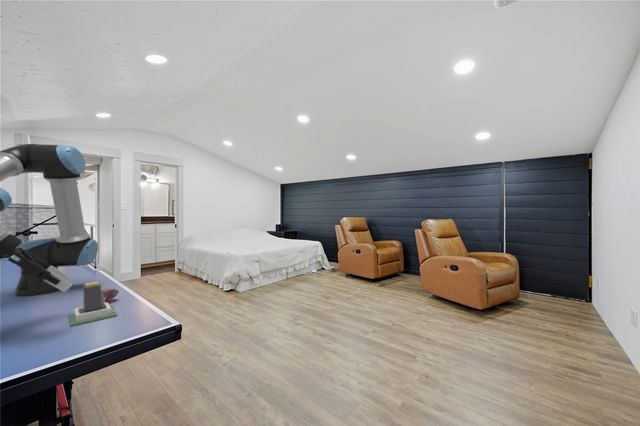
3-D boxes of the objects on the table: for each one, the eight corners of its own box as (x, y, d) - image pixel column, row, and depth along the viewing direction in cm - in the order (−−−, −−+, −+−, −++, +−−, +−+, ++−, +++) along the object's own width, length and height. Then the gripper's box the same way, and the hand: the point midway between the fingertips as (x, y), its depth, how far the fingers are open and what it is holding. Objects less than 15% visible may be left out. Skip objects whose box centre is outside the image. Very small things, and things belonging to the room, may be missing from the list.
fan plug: (83, 314, 96) (83, 283, 95) (102, 310, 99) (102, 280, 99) (84, 318, 93) (84, 285, 92) (104, 313, 96) (103, 282, 96)
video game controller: (92, 312, 103) (98, 296, 102) (83, 306, 104) (89, 290, 103) (116, 303, 113) (122, 288, 112) (108, 297, 114) (114, 282, 113)
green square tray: (68, 315, 96) (68, 308, 96) (111, 307, 104) (111, 300, 104) (70, 326, 87) (70, 318, 87) (117, 316, 96) (117, 308, 95)
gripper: (-12, 247, 87) (55, 285, 98) (-27, 259, 69) (57, 303, 80) (12, 230, 90) (75, 268, 102) (5, 236, 73) (81, 282, 84)
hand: (67, 284), depth 91 cm, fingers open, 13 cm apart
